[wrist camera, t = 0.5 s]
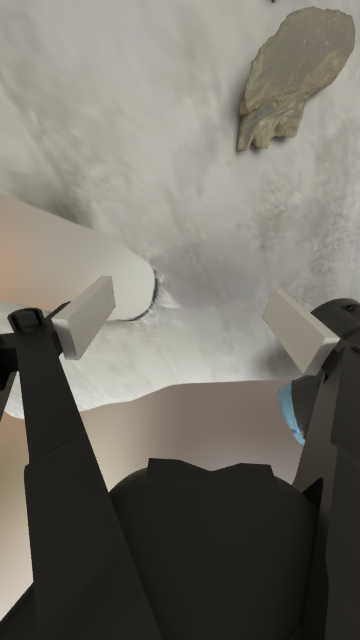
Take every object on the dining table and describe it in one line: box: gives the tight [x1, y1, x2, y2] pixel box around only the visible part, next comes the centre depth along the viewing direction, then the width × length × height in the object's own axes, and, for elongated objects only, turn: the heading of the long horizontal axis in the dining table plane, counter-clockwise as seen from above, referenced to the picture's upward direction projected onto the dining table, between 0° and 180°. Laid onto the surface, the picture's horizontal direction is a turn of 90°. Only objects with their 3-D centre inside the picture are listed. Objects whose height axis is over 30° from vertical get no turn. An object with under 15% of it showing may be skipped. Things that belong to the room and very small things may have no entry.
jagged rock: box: [237, 6, 355, 151], centre depth 23 cm, size 14×10×10 cm
